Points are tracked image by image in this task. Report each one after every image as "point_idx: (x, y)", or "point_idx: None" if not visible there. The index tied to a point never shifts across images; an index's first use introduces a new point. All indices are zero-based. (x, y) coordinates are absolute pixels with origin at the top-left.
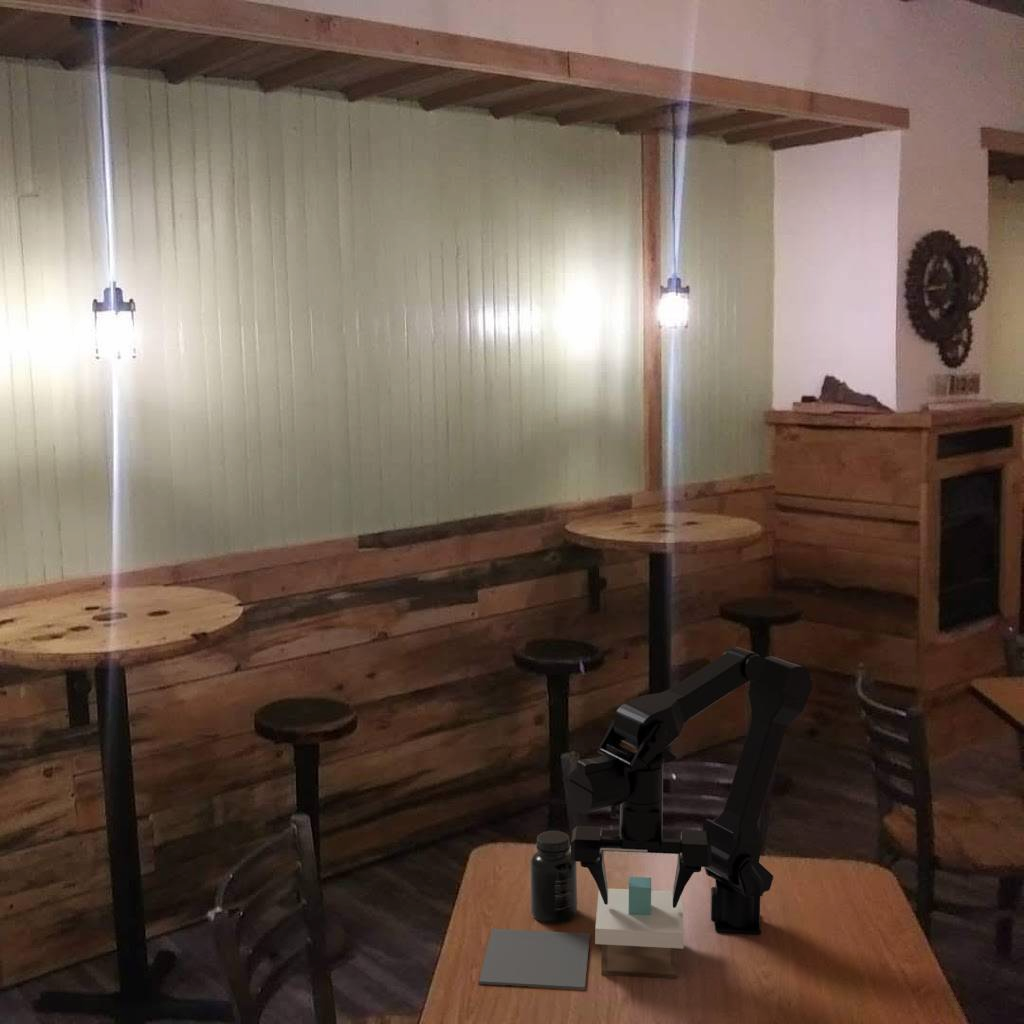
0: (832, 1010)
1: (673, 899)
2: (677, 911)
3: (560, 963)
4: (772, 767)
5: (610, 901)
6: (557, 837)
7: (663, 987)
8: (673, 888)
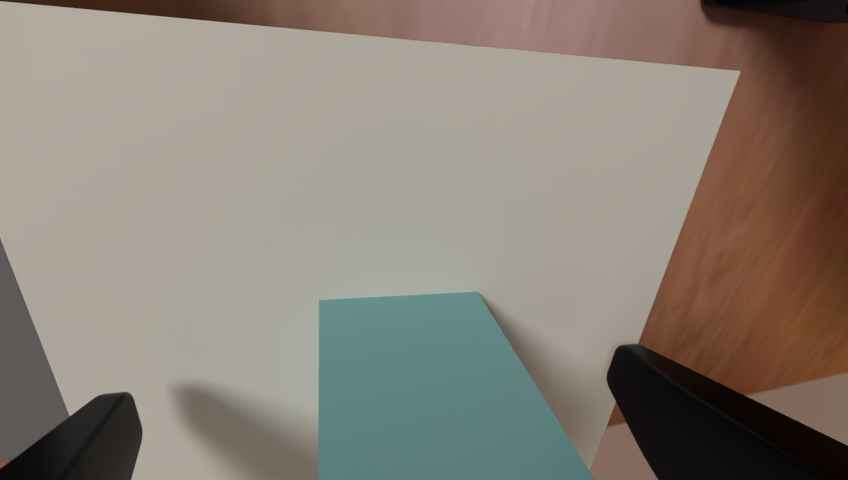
0: (772, 377)
1: (647, 458)
2: (615, 338)
3: (29, 331)
4: None
5: (153, 285)
6: None
7: None
8: (714, 416)
